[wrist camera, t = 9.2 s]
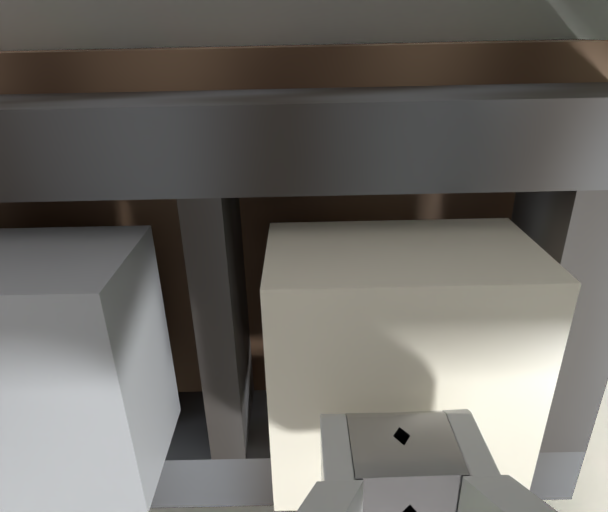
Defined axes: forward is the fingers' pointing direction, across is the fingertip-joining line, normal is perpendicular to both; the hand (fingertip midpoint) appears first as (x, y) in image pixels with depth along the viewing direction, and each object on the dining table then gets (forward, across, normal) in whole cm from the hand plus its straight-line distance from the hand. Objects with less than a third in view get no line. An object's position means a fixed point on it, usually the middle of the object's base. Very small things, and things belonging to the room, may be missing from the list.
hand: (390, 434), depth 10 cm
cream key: (+4, 0, 0) cm, 4 cm away
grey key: (+4, +9, 0) cm, 9 cm away
